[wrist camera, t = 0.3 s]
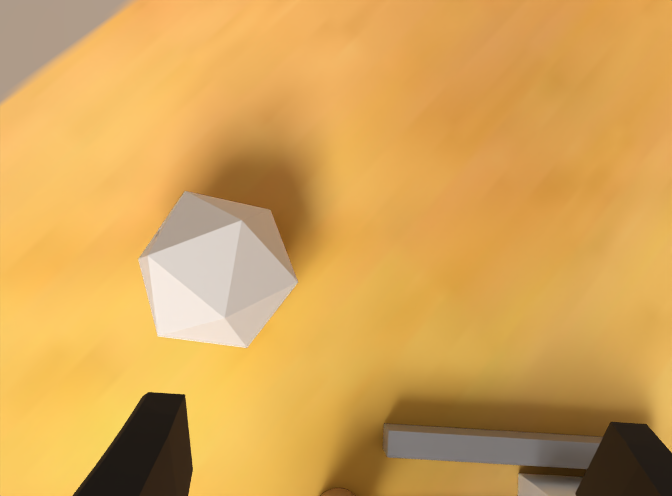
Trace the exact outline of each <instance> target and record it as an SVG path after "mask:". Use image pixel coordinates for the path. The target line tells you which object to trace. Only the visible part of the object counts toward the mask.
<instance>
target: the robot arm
mask: <svg viewBox="0 0 672 496" xmlns="http://www.w3.org/2000/svg"><path fill="white" fill-rule="evenodd" d="M192 471H193V467H192V457H191V447H190V438H189V428H188V419H187V409H186V399H185V395H184V394H168V393H152V392H148V393H147V394H145V395H144V396H142V398H141V400H140V401H139V403H138V404H137V406H136V408H135V409H134V411H133V412H132V414H131V415H130V417H129V418H128V420H127V421H126V423H125V424H124V426H123V427H122V429H121V430H120V432H119V433H118V435H117V436H116V438H115V439H114V440H113V442H112V443H111V445H110V446H109V447H108V449H107V450H106V452H105V453H104V454H103V456H102V457H101V459H100V460H99V461H98V463H97V464H96V466H95V467H94V468H93V470H92V471H91V472H90V473H89V475H88V476H87V477H86V479H85V480H84V481H83V483H82V484H81V485H80V487H79V488H78V489H77V490H76V492H75V493H74V494H73V496H188V493H189V488H190V482H191V477H192ZM575 494H576V496H672V453H671V452H670V451H669V449H668V448H667V447H666V446H665V445H664V444H663V443H662V441H661V440H660V439H659V438H658V437H657V436H656V435H655V433H654V432H653V431H652V430H651V429H650V428H649V427H648V426H647V424H635V423H620V422H611V423H610V425H609V427H608V429H607V431H606V433H605V435H604V437H603V439H602V441H601V443H600V445H599V447H598V449H597V451H596V453H595V455H594V457H593V459H592V461H591V463H590V465H589V467H588V469H587V471H586V473H585V475H584V477H583V479H582V481H581V483H580V485H579V487H578V489H577V491H576V493H575Z"/></svg>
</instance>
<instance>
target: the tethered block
mask: <svg viewBox="0 0 672 496" xmlns="http://www.w3.org/2000/svg"><path fill="white" fill-rule="evenodd" d="M582 479H583V477H575V476H558V475H541V474H524V473H518V496H576V494H575V493H576V491H577V489H578V487H579V485H580V483H581V481H582ZM321 496H355V495H354V494H353V493H352V492H350V491H349V490H346V489H343V488H333V489H330V490H328V491H326V492H324V493H323V494H322V495H321Z"/></svg>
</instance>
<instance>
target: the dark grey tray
mask: <svg viewBox="0 0 672 496" xmlns="http://www.w3.org/2000/svg"><path fill="white" fill-rule="evenodd" d="M602 439H603V437H598V436H581V435H565V434H549V433H532V432H516V431H500V430H483V429H467V428H451V427H434V426H418V425H402V424H385V423H384V431H383V450H384V452H385V454H386V456H387V457H392V458H409V459H425V460H442V461H459V462H476V463H492V464H509V465H526V466H543V467H559V468H576V469H588V467H589V465H590V463H591V461H592V459H593V457H594V455H595V453H596V451H597V449H598V447H599V445H600V443H601V441H602Z"/></svg>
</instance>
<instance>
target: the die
mask: <svg viewBox="0 0 672 496" xmlns="http://www.w3.org/2000/svg"><path fill="white" fill-rule="evenodd" d="M138 260H139V264H140V268H141V272H142V276H143V280H144V284H145V287H146V291H147V295H148V299H149V303H150V307H151V311H152V315H153V319H154V323H155V327H156V331H157V335H158V336H160V337H168V338H175V339H183V340H191V341H198V342H206V343H214V344H221V345H229V346H236V347H244V348H247V347H248V346H249V345H250V343H251V342H252V341H253V340H254V338H255V337H256V336H257V334H258V333H259V332H260V331H261V329H262V328H263V327H264V325H265V324H266V323H267V322H268V320H269V319H270V318H271V316H272V315H273V314H274V313H275V311H276V310H277V309H278V307H279V306H280V305H281V304H282V302H283V301H284V300H285V298H286V297H287V296H288V295H289V293H290V292H291V291H292V289H293V288H294V287H295V286H296V284H297V283H298V280H297V278H296V275H295V273H294V270H293V267H292V265H291V262H290V260H289V257H288V254H287V252H286V249H285V247H284V244H283V241H282V239H281V236H280V233H279V231H278V228H277V226H276V223H275V220H274V218H273V215H272V213H271V210H270V209H265V208H261V207H256V206H252V205H247V204H243V203H238V202H234V201H229V200H224V199H220V198H215V197H211V196H206V195H202V194H197V193H193V192H188V191H184V193H183V194H182V196H181V197H180V199H179V200H178V202H177V203H176V205H175V206H174V208H173V209H172V210H171V212H170V213H169V215H168V216H167V218H166V219H165V221H164V222H163V224H162V225H161V227H160V228H159V229H158V231H157V232H156V234H155V235H154V237H153V238H152V240H151V241H150V243H149V244H148V246H147V247H146V249H145V250H144V251H143V253H142V254H141V256H140V257H139V259H138Z"/></svg>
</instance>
